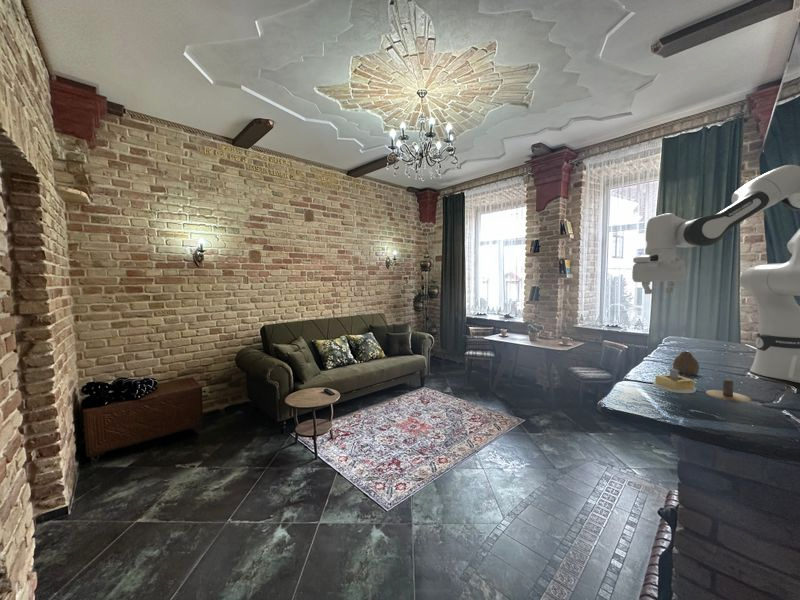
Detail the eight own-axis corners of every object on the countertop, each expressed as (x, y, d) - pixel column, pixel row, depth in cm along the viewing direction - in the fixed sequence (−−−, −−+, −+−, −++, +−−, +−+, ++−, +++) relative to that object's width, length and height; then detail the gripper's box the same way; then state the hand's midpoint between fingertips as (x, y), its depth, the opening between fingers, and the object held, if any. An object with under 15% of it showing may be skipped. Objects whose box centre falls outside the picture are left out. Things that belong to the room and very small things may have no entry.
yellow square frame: (672, 381, 101) (672, 374, 101) (693, 388, 95) (694, 380, 95) (655, 383, 101) (655, 375, 100) (675, 390, 94) (675, 381, 94)
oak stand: (738, 396, 93) (739, 376, 92) (759, 408, 84) (760, 387, 84) (699, 393, 96) (700, 374, 96) (716, 404, 88) (716, 383, 87)
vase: (704, 379, 108) (704, 354, 107) (680, 379, 109) (681, 354, 109) (689, 373, 115) (690, 350, 114) (668, 373, 116) (668, 349, 115)
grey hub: (686, 388, 101) (686, 366, 100) (702, 399, 92) (703, 376, 91) (648, 385, 104) (648, 364, 104) (660, 395, 95) (660, 373, 95)
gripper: (675, 257, 125) (674, 292, 126) (629, 258, 122) (628, 294, 123) (691, 256, 118) (690, 292, 119) (644, 257, 116) (643, 294, 116)
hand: (658, 293), depth 121 cm, fingers open, 8 cm apart
